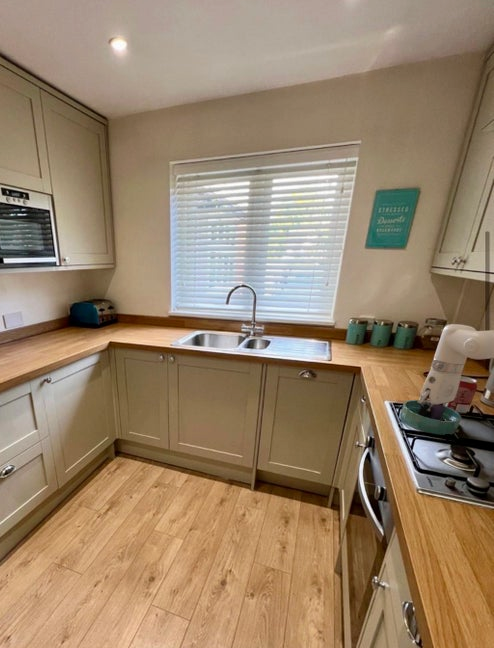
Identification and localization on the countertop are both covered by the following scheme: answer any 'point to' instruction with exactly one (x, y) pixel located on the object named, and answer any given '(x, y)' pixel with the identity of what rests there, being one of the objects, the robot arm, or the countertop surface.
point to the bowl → (426, 424)
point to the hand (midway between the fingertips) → (428, 419)
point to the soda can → (463, 395)
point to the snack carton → (436, 411)
